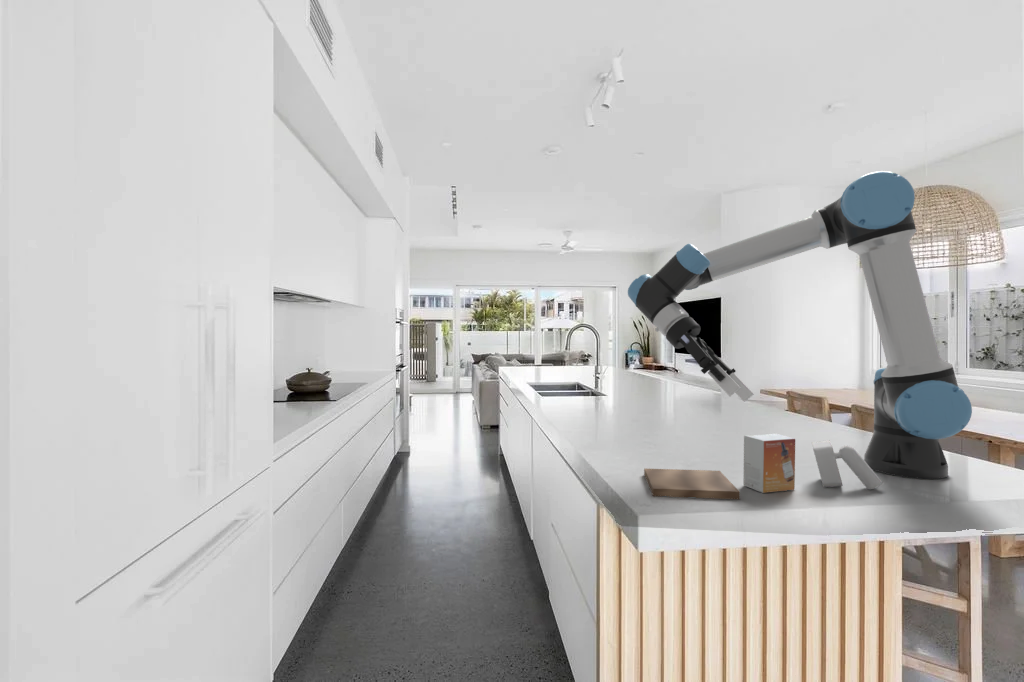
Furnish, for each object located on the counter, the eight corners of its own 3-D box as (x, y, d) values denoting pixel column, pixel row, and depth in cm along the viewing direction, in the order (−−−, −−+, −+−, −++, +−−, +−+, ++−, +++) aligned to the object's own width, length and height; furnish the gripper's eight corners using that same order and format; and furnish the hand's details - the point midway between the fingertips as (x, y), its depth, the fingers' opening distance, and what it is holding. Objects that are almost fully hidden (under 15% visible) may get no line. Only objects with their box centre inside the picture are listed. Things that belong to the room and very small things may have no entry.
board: (719, 477, 111) (719, 470, 111) (739, 499, 97) (739, 491, 97) (644, 475, 113) (644, 468, 113) (653, 496, 99) (653, 488, 99)
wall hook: (887, 493, 98) (873, 442, 99) (826, 498, 103) (813, 449, 104) (880, 482, 105) (867, 434, 106) (823, 487, 110) (811, 441, 111)
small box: (762, 494, 100) (763, 440, 100) (742, 485, 106) (742, 435, 105) (795, 490, 102) (796, 438, 102) (774, 482, 108) (775, 432, 107)
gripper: (681, 346, 132) (741, 410, 121) (646, 327, 112) (713, 401, 101) (704, 326, 129) (767, 389, 118) (671, 303, 109) (743, 376, 98)
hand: (742, 395), depth 110 cm, fingers open, 13 cm apart
